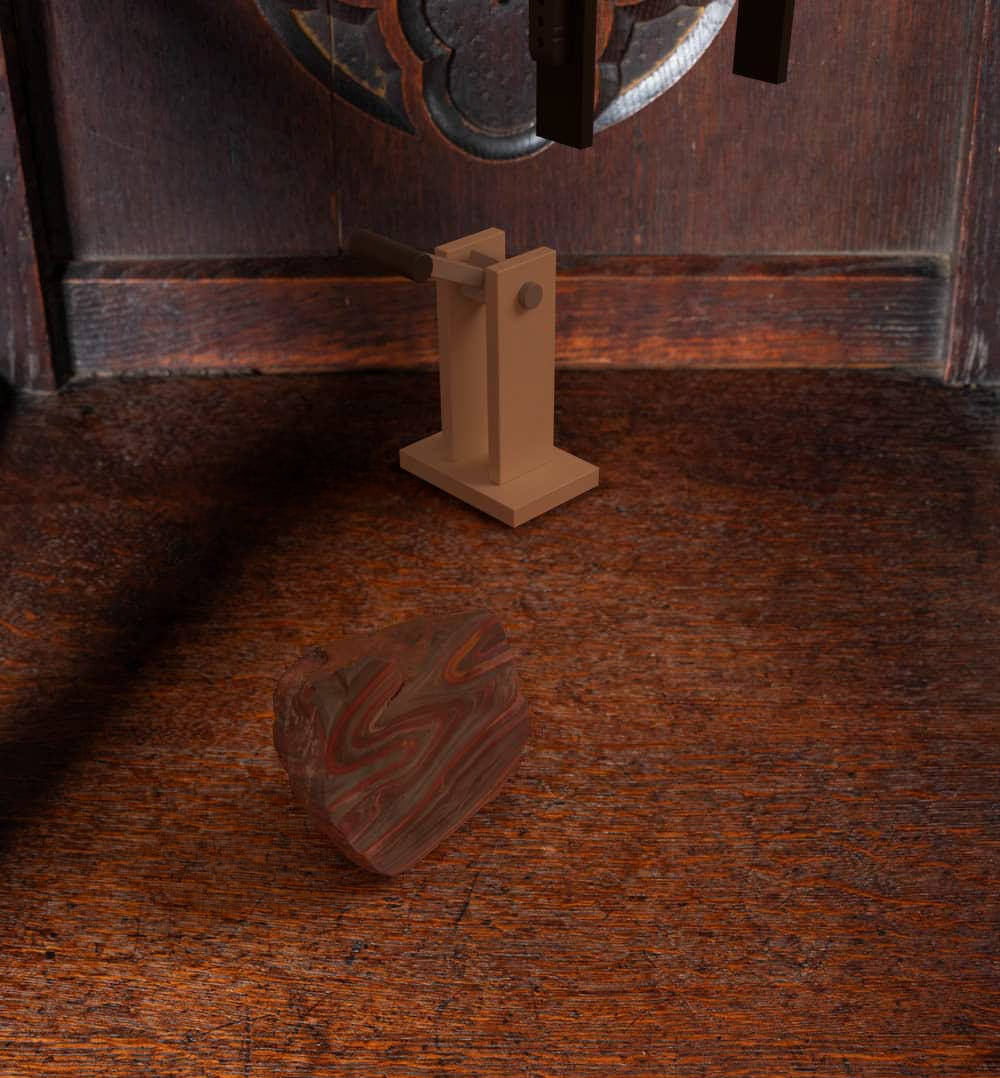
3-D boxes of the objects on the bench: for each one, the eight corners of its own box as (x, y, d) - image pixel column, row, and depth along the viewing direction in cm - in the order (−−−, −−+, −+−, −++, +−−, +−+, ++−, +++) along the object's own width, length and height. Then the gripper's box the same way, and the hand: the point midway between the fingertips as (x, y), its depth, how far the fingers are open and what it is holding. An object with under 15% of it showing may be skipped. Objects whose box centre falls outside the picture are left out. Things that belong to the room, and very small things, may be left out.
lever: (405, 290, 71) (419, 241, 70) (342, 263, 74) (355, 216, 73) (537, 319, 79) (551, 276, 78) (475, 294, 82) (488, 251, 81)
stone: (360, 932, 58) (339, 740, 51) (213, 845, 62) (176, 657, 55) (543, 768, 65) (545, 584, 59) (402, 701, 69) (389, 521, 63)
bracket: (513, 528, 82) (512, 292, 73) (400, 467, 87) (385, 241, 78) (598, 485, 85) (607, 255, 77) (484, 429, 91) (479, 209, 82)
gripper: (537, -516, 44) (533, 193, 57) (980, -505, 57) (891, 69, 71) (377, -508, 48) (408, 151, 61) (825, -500, 61) (769, 41, 75)
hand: (666, 108), depth 66 cm, fingers open, 13 cm apart
